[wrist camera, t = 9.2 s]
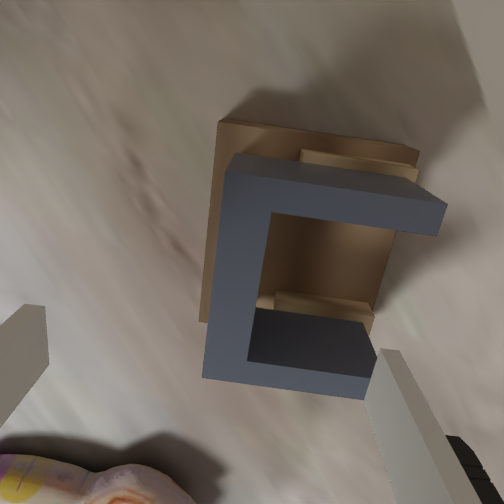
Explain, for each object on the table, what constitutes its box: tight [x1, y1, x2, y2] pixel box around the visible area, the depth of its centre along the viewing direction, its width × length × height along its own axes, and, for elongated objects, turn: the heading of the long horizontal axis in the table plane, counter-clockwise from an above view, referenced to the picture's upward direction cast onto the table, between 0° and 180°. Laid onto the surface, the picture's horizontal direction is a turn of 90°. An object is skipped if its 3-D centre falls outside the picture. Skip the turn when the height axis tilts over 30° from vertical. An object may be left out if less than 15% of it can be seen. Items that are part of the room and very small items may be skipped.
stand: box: [199, 119, 420, 336], centre depth 28 cm, size 13×15×5 cm
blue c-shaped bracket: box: [202, 152, 448, 400], centre depth 23 cm, size 10×12×6 cm
